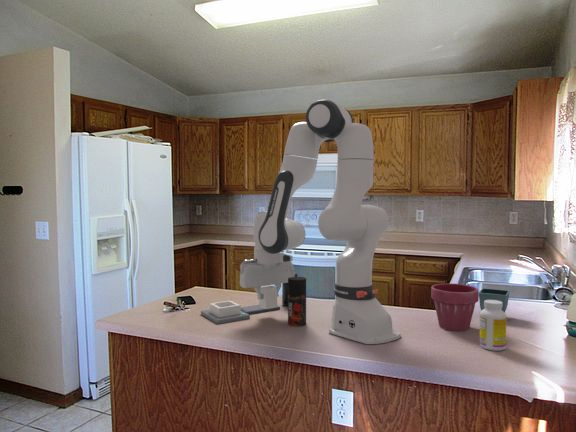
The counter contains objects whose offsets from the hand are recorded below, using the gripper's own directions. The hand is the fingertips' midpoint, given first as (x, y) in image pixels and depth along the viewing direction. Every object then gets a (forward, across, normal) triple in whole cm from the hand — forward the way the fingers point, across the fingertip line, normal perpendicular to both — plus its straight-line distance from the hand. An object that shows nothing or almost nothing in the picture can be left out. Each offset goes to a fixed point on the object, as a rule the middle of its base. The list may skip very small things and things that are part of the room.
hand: (268, 297), depth 157 cm
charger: (+3, 0, 0) cm, 3 cm away
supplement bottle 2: (+9, +36, -60) cm, 71 cm away
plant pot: (+9, +43, -42) cm, 61 cm away
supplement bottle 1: (+7, +16, +10) cm, 20 cm away
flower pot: (+9, +64, -43) cm, 78 cm away
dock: (+6, -12, +9) cm, 16 cm away
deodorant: (+7, +4, -12) cm, 14 cm away
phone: (+6, +2, +10) cm, 12 cm away
